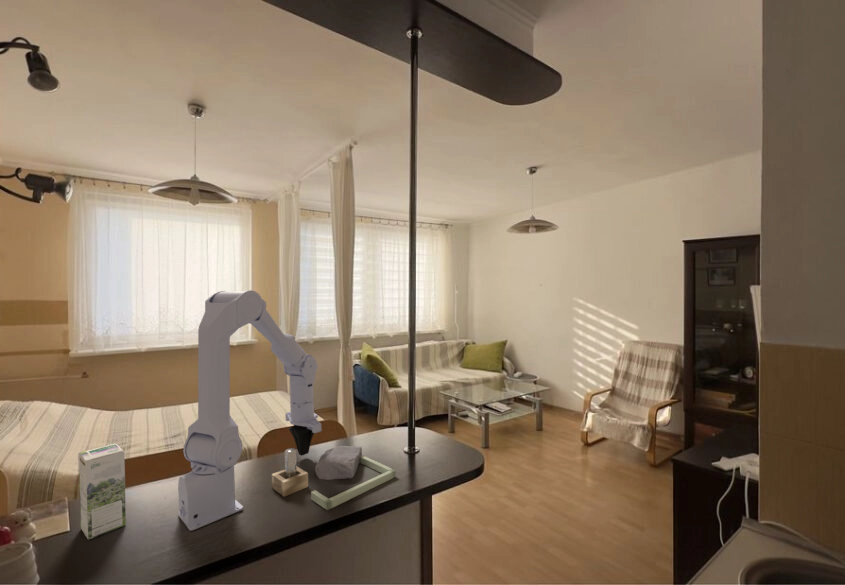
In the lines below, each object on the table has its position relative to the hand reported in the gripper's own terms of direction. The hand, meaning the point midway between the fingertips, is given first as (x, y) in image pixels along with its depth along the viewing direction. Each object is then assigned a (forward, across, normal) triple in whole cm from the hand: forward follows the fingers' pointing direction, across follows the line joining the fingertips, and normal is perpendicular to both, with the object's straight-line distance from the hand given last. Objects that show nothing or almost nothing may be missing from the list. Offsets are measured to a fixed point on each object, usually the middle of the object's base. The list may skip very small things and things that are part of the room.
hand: (303, 453), depth 101 cm
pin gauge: (+1, -11, +9) cm, 14 cm away
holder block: (+1, -11, +10) cm, 15 cm away
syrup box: (+1, +2, +40) cm, 40 cm away
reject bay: (+1, -19, 0) cm, 19 cm away
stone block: (+2, -11, -3) cm, 12 cm away
